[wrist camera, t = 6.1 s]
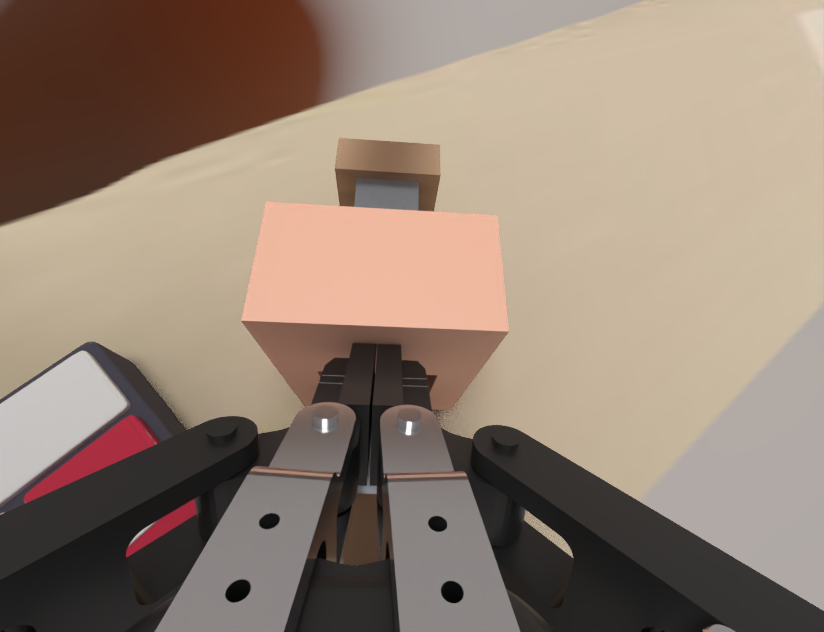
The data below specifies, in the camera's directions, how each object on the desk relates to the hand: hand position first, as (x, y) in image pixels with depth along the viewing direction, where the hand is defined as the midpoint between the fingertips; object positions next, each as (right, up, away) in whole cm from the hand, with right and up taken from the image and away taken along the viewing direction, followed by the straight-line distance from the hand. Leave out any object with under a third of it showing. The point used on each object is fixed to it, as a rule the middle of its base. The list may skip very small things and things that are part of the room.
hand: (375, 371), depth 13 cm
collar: (0, -1, +8) cm, 8 cm away
